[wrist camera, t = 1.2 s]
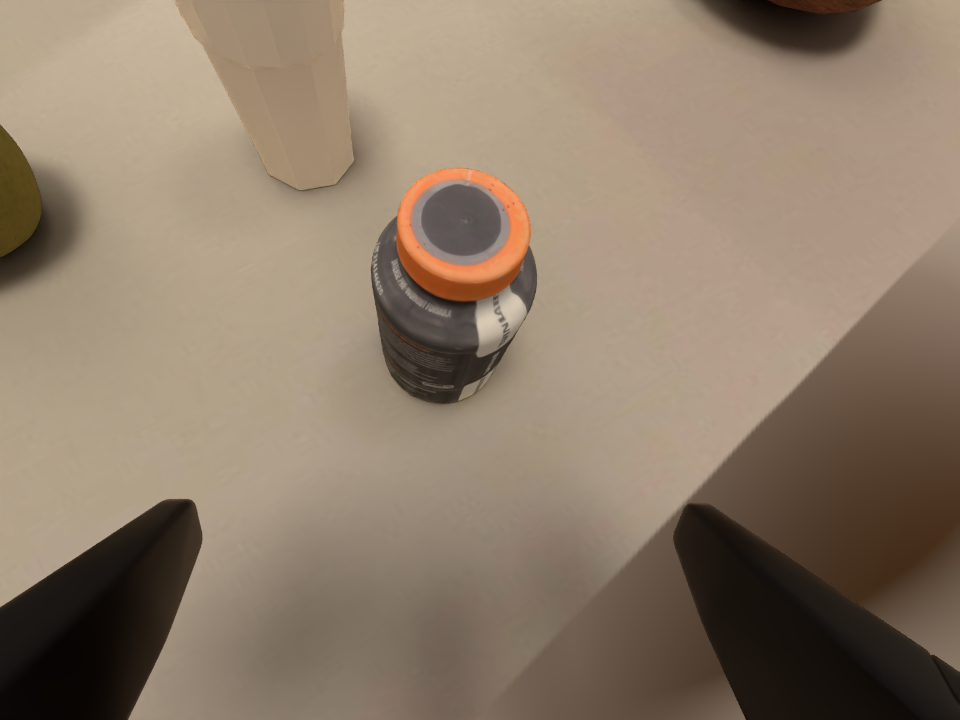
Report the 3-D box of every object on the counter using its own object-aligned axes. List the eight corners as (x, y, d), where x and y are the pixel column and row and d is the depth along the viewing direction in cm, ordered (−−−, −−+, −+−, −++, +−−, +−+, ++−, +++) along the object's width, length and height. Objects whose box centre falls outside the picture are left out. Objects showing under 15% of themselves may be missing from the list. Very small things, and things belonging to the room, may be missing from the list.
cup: (235, 191, 25) (107, -38, 14) (261, 100, 27) (167, -156, 16) (357, 208, 25) (319, 4, 15) (373, 119, 27) (350, -114, 17)
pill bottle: (512, 385, 23) (596, 284, 13) (403, 420, 22) (396, 340, 11) (474, 287, 25) (521, 123, 14) (370, 314, 23) (335, 155, 13)
